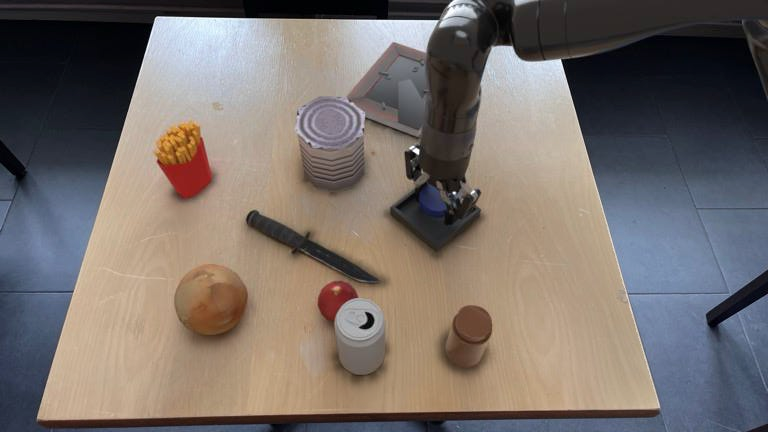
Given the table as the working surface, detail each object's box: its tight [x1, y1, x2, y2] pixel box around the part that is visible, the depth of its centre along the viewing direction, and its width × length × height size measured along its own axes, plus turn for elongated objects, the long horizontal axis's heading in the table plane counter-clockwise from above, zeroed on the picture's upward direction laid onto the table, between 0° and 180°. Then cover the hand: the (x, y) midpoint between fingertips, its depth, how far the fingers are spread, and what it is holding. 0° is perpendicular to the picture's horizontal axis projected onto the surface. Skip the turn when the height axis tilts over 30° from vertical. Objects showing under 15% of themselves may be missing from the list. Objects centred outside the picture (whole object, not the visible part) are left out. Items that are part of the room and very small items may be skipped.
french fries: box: [152, 119, 213, 199], centre depth 86 cm, size 8×4×12 cm, turn 145°
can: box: [294, 95, 366, 194], centre depth 89 cm, size 11×11×12 cm
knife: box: [245, 209, 382, 283], centre depth 82 cm, size 24×5×3 cm, turn 55°
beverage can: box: [333, 297, 387, 376], centre depth 69 cm, size 6×6×12 cm
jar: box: [444, 304, 494, 369], centre depth 70 cm, size 5×5×10 cm
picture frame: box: [346, 41, 428, 138], centre depth 105 cm, size 16×2×22 cm
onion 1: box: [173, 263, 249, 336], centre depth 73 cm, size 10×10×10 cm
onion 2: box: [317, 280, 359, 323], centre depth 74 cm, size 6×6×8 cm
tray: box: [389, 188, 482, 254], centre depth 87 cm, size 11×11×2 cm
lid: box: [419, 184, 455, 218], centre depth 85 cm, size 6×6×2 cm
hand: (435, 210), depth 87 cm, fingers closed on lid, 5 cm apart
